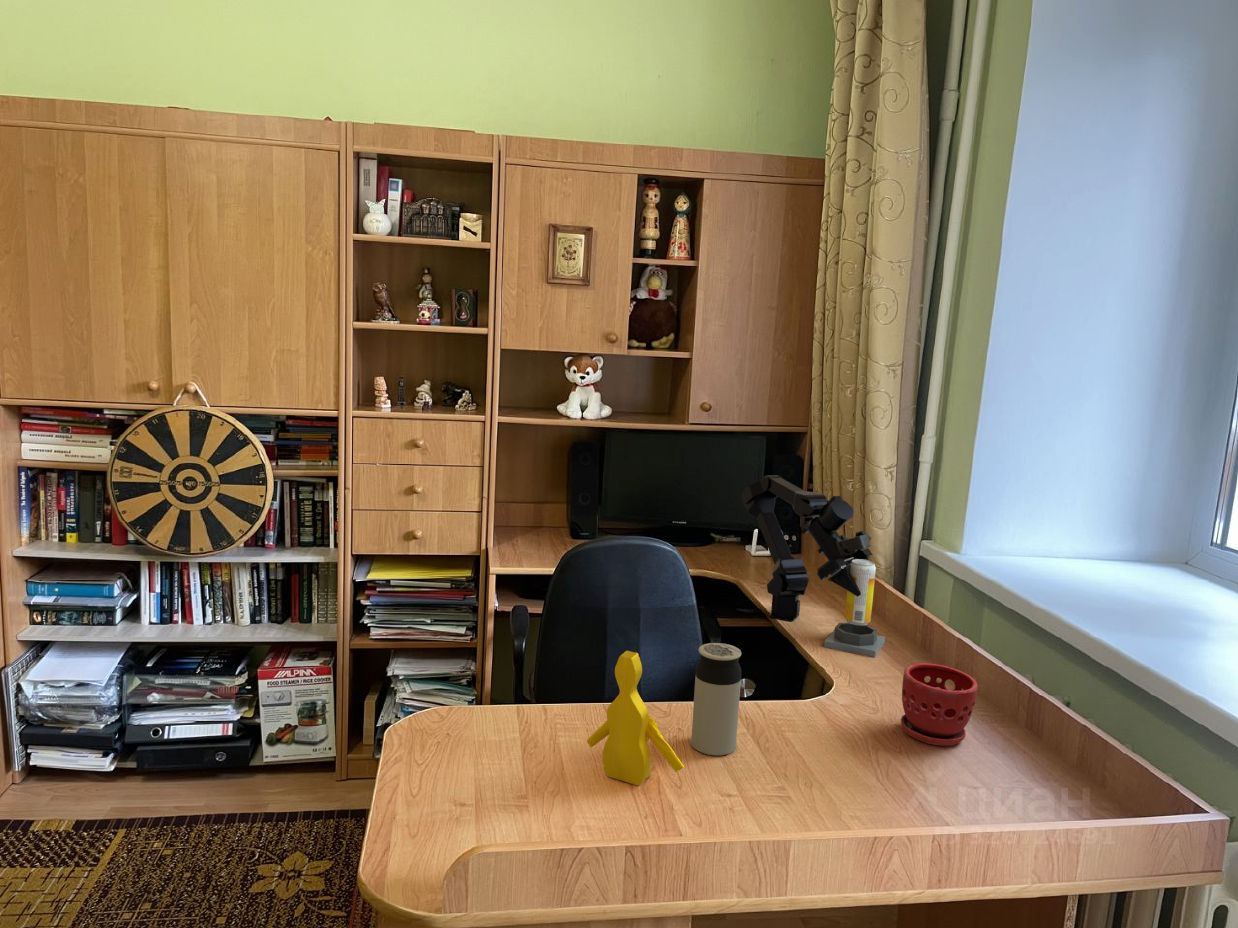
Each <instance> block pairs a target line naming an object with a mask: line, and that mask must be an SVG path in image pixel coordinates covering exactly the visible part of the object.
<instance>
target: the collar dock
mask: <svg viewBox="0 0 1238 928" xmlns="http://www.w3.org/2000/svg"><path fill="white" fill-rule="evenodd" d="M878 632H879V631H878V630H877V629H876V628H875V627H872V626H870V625H869V624H867V625H862V626H861V625H853V624H850V623H848V622H838V623H837V624H836V626H834V629H833V630H832V632H831V633H830V634H829V635H828V636H827V638H826V639H825V640H824V645H823V647H824V648H827V649H832V650H836V649H837V650H836V651H841V650H842V651H841V652H847V653H852V654H857V655H861V656H865V655H866V656H865V657H870V658H876V657H877V655H878V654H879V652H880V651H881V649H882V648H883V646H884V645H885V643H886V636H883V635H878ZM879 650H880V651H879Z"/></svg>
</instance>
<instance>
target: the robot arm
mask: <svg viewBox="0 0 1238 928" xmlns="http://www.w3.org/2000/svg"><path fill="white" fill-rule="evenodd" d="M740 496H741V497H740V499H741V502H742V504H743V506H744V508H745V510H746V511H747V513H749V514H750V515H751V516H753V517H754V518H755V519H756V521H757V523H758V526H759V528H760V531H761V535H762V536H763V539H764V541H765V544H766V546H767V549H768V552H769V553H770V557H771V558H772V561H773V564H774V565H773V569H772V578H771V580H770V581H769V582H767V584H766V590H767V594H769V595H771V597H772V598H771V608H770V609H771V610H770V611H771V612H770V613H769V614H768V617H769V618H772V619H773V618H774V619H778V620H782V621H788V622H793V621H795V620H796V619H797V618H798V617H799V616H800V609H801V600H800V599H799V596H804V595H805V594H806V590H807V587H808V585H809V576H808V570H807V569H806V567H805V564H804V561H803V559H802V558H795V557H793V555H792V554H791V551H790V548H789V546H788V544H787V541H786V539H785V537H784V534H783V532H782V530H781V526H780V524H779V522H778V520H777V517H776V514H775V512H774V509H775V505H776V499H777V498H780V499H781V500H783V501H785V502H786V503H788V504H790V505H791V506H792V510H793V511H794V512H795V513H796V515H798V516H799V517H800V518H812V519H811V520H807V521H805V522H803V523H802V529H801V534H803V535H805V534H808V533H809V534H810V536H811V537H812V538H813V539H812V540H813V541H815V543H816V544H817V546H818V547H819V548H818V549H817V552H818V553H819V554H824V556H825V558H826V559H827V561H825V562H824V563H823V564H822V565H820V567H818V568H817V569H816V574H817V576H818V578H819V580H820V581H823V580H826V579H827V580H828V581H829V582H832V583H834V584H836V585H838V586H839V587H841V588H843V589H845V590H846V591H847V590H848V591H849V592H851V593H852V594H854V595H856V596H860V595H861V592H860V590H859V588H858V586H857V585H856V583H855V581H854V579H853V577H852V576H851V574H850V570H851V565H850V564H851V562H852V560H854V559H864V560H869V561H870V558H871V557H872V556H873V553H872V552H871V550H870V549H869V548H870V547H871V546H872V545H871V540H872V537H871V536H870V535H869V533H867V532H866V531H865V530H864V529H863V530H860V531H857V532H855V536H854V537H849V538H848V537H847V536H846V535H845V534H841V535H840V534H839V532H838V530H840V529H841V528H842V527H844V525H846V523H848V521H850V520H851V519H852V517H854V509H853V507H852V506H851V504H850V503H848V502H847V501H845V500H844V499H842V496H841V495H832V496H831V498H830V499H829V500H828V498H827V496H826V495H825V494H822V493H819V492H816V491H806V490H804V489H802V488H800V487H799V486H797V485H795V484H792V482H790V481H787V480H786V479H784V478H783V477H782V476H780V475H777V474H776V475H765V476H763V477H762V478H761V479H760V480H757V481H755V482H754V483H751V484H750V485H748V486H746V487H745V488H744V490H743V491H742V492H741V495H740ZM829 576H830V577H829Z"/></svg>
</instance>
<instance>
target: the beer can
mask: <svg viewBox="0 0 1238 928" xmlns="http://www.w3.org/2000/svg"><path fill="white" fill-rule="evenodd" d="M850 565H851V570H850V574H851V576H852V577H853V579H854V581H855V583H856V585H857V586H858V588H859V590H860V592H861V595H860V596H856V595H854V594H852V593H851V592H849V591H848V590H846V598H845V599H846V600H845V610H844V618H845V620H846V623H850V624H853V625H861V626H862V625H869V623H870V622H871V619H872V609H873V601H874V591H875V590H874V589H875V581H876V580H875V579H876V570H877V568H876V564H875V562H874V561H872V560H870V559H869V560H864V559H854V560H852V562H851V564H850Z"/></svg>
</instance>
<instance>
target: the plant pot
mask: <svg viewBox="0 0 1238 928" xmlns="http://www.w3.org/2000/svg"><path fill="white" fill-rule="evenodd" d="M926 677H930V680H928V681H926V680H925V678H926ZM937 679H940V680H941V681H940V682H938V680H937ZM948 680H950V681H952V682H953V683H954V689H953V690H950V689H949V688H947V686H946V682H947V681H948ZM901 685H902V688H901V702H902V709H903V711H904V714H903V715H902V716H901V717H900V718H901V719H900V725H901V726H902V729H903V730H904V732H906V734H907V735H909V736H910V737H911V738H913V739H916V740H918V741H919V742H922V743H926V744H929V745H933V746H942V747H943V746H946V747H947V746H953V745H957V744H959V743H961V742H962V741H964V739H965V738H966V734H967V733H966V730H965V729H966V726H967V724H968V723H969V721H970V719H971V717H972V713H973V711H974V708H975V705H976V701H977V696H978V686H979V685H978V683H977V681H976V680H975V678H974V677H972V676H971V675H969V674H968V673H966V672H964V671H961V670H959V669H957V668H953V667H950V666H947V665H942V664H935V663H927V662H922V663H914V664H910V665H909V666H907V667H905V669H904V672H903V677H902V684H901ZM962 689H963V690H962Z"/></svg>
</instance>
